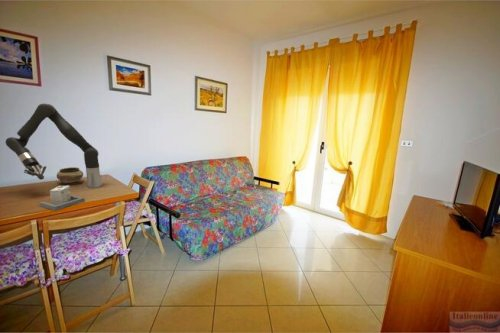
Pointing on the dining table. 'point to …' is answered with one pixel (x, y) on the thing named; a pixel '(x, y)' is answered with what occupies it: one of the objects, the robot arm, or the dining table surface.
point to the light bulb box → (60, 195)
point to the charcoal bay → (63, 205)
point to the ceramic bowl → (70, 175)
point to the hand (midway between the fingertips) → (42, 178)
